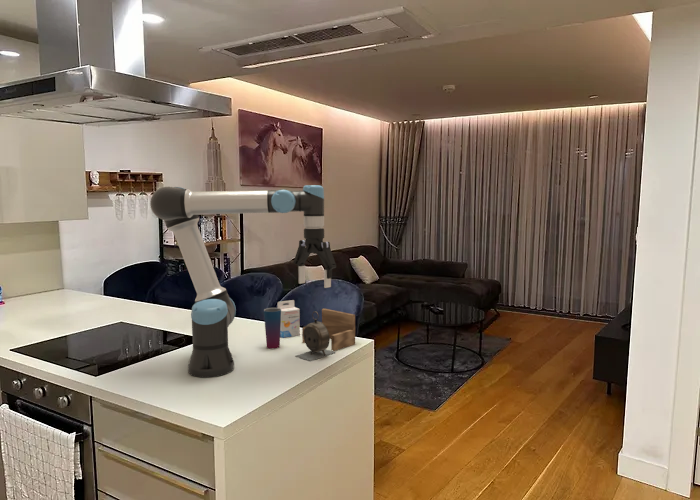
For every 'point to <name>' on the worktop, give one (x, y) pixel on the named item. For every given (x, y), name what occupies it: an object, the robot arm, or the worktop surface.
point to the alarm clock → (316, 336)
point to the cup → (272, 327)
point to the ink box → (289, 319)
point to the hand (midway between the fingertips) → (314, 285)
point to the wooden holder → (338, 328)
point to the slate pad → (314, 355)
